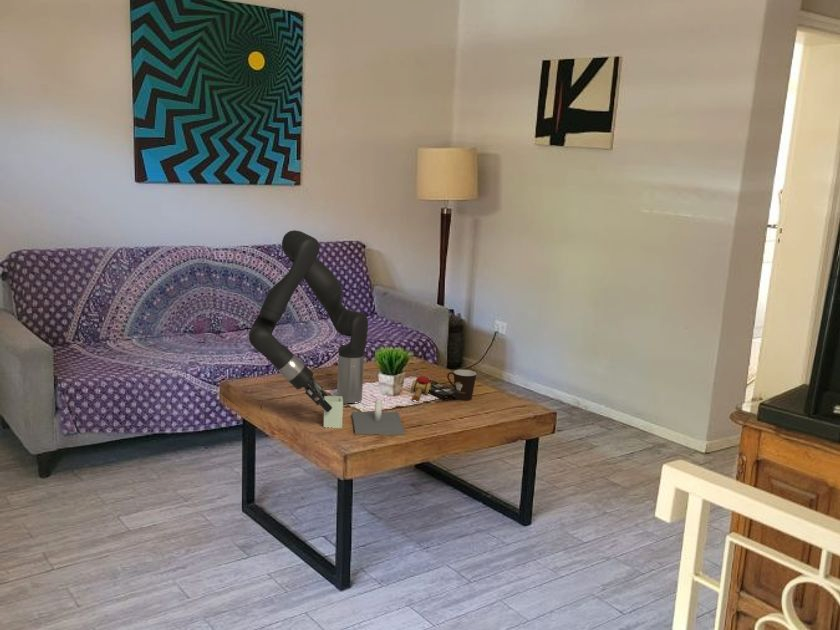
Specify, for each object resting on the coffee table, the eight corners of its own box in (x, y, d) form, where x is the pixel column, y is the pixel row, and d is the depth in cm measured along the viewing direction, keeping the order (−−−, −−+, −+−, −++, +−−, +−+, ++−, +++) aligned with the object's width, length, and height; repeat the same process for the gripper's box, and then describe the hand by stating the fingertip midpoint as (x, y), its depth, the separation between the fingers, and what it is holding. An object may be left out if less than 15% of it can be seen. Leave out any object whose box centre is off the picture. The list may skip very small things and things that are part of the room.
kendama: (427, 407, 295) (435, 387, 312) (425, 391, 293) (432, 372, 310) (407, 408, 297) (415, 388, 313) (404, 392, 295) (413, 373, 311)
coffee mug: (478, 400, 302) (480, 375, 300) (458, 402, 298) (460, 376, 296) (463, 391, 312) (465, 366, 310) (444, 393, 308) (446, 368, 306)
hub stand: (352, 415, 276) (353, 390, 274) (397, 416, 279) (399, 391, 277) (355, 434, 259) (356, 407, 257) (404, 434, 261) (405, 408, 259)
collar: (323, 421, 269) (324, 396, 267) (341, 421, 270) (342, 396, 268) (323, 427, 263) (324, 401, 261) (342, 428, 264) (343, 402, 262)
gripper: (304, 370, 254) (338, 405, 258) (304, 358, 268) (337, 391, 272) (286, 386, 254) (321, 420, 258) (287, 373, 268) (321, 406, 272)
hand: (329, 405), depth 265 cm, fingers open, 8 cm apart
